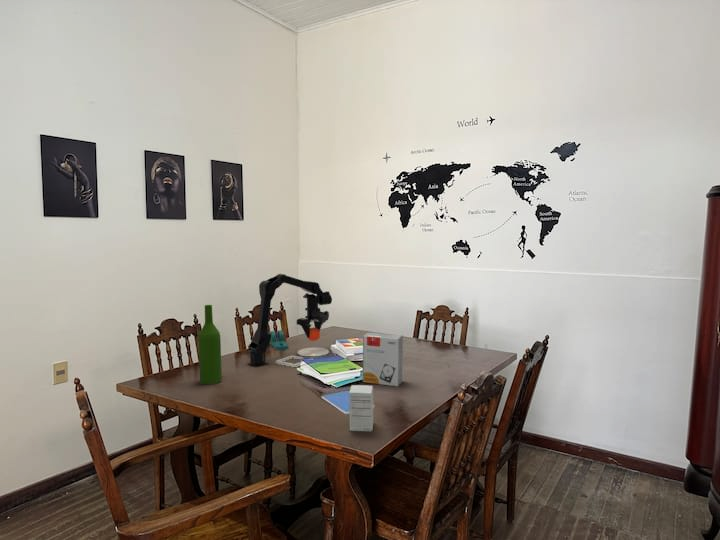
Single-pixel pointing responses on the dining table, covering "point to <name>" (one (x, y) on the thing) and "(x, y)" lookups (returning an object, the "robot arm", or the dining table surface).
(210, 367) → the wine bottle
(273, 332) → the bracket
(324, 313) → the robot arm
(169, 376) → the dining table surface
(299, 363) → the white flat square frame
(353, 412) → the supplement box
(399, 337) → the hard drive box
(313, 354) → the cream plate
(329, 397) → the tablet computer
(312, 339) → the clementine
